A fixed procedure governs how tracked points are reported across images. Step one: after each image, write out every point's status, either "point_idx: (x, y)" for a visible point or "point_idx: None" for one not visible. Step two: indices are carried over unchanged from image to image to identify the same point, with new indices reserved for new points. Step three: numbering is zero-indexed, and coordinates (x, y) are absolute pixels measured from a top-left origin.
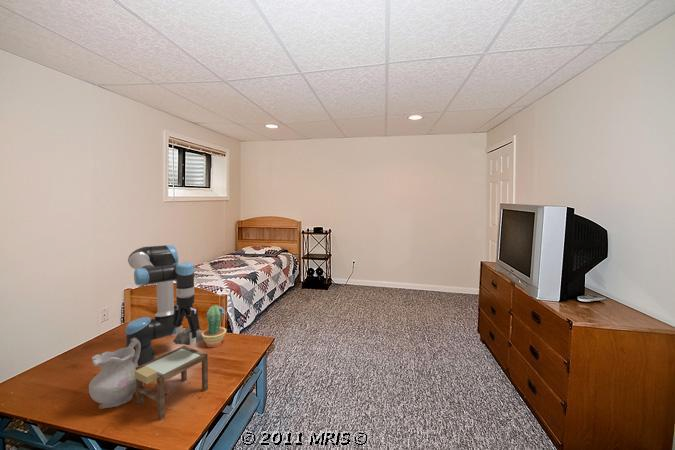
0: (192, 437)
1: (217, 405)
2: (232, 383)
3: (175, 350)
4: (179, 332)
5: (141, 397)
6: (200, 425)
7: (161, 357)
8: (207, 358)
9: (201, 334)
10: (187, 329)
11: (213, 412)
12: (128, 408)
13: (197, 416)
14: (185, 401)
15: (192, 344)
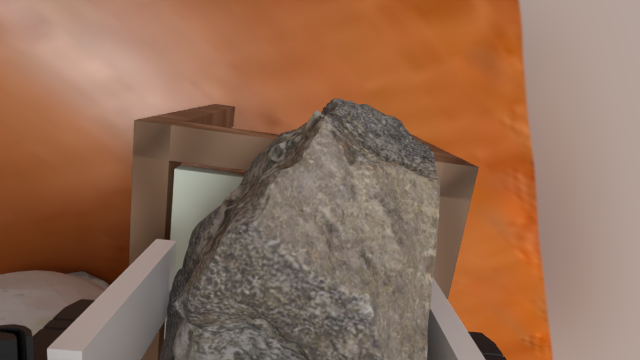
0: (540, 356)
1: (524, 203)
2: (494, 41)
3: (148, 219)
4: (131, 339)
5: None
6: (530, 309)
7: (153, 340)
8: (464, 161)
9: (438, 182)
10: (236, 316)
11: (534, 241)
12: None
13: (486, 280)
14: None
15: None
